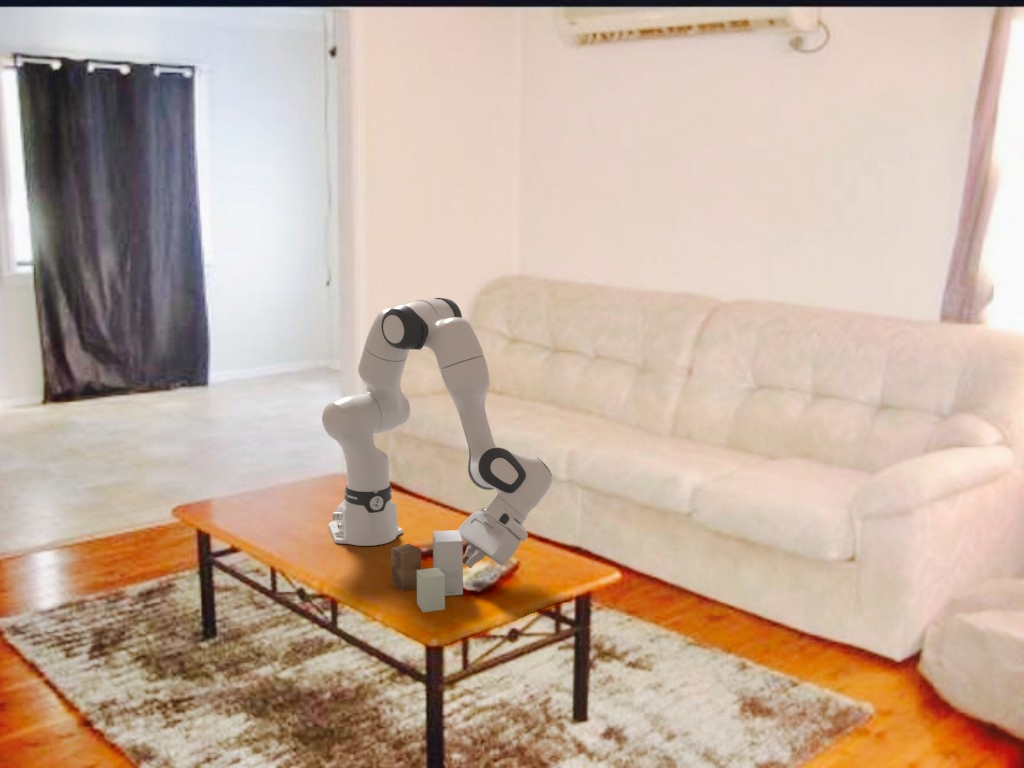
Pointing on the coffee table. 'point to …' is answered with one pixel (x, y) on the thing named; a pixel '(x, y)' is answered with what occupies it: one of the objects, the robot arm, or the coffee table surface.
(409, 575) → the walnut block
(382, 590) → the coffee table surface
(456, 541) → the small box
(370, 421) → the robot arm
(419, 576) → the sage block
